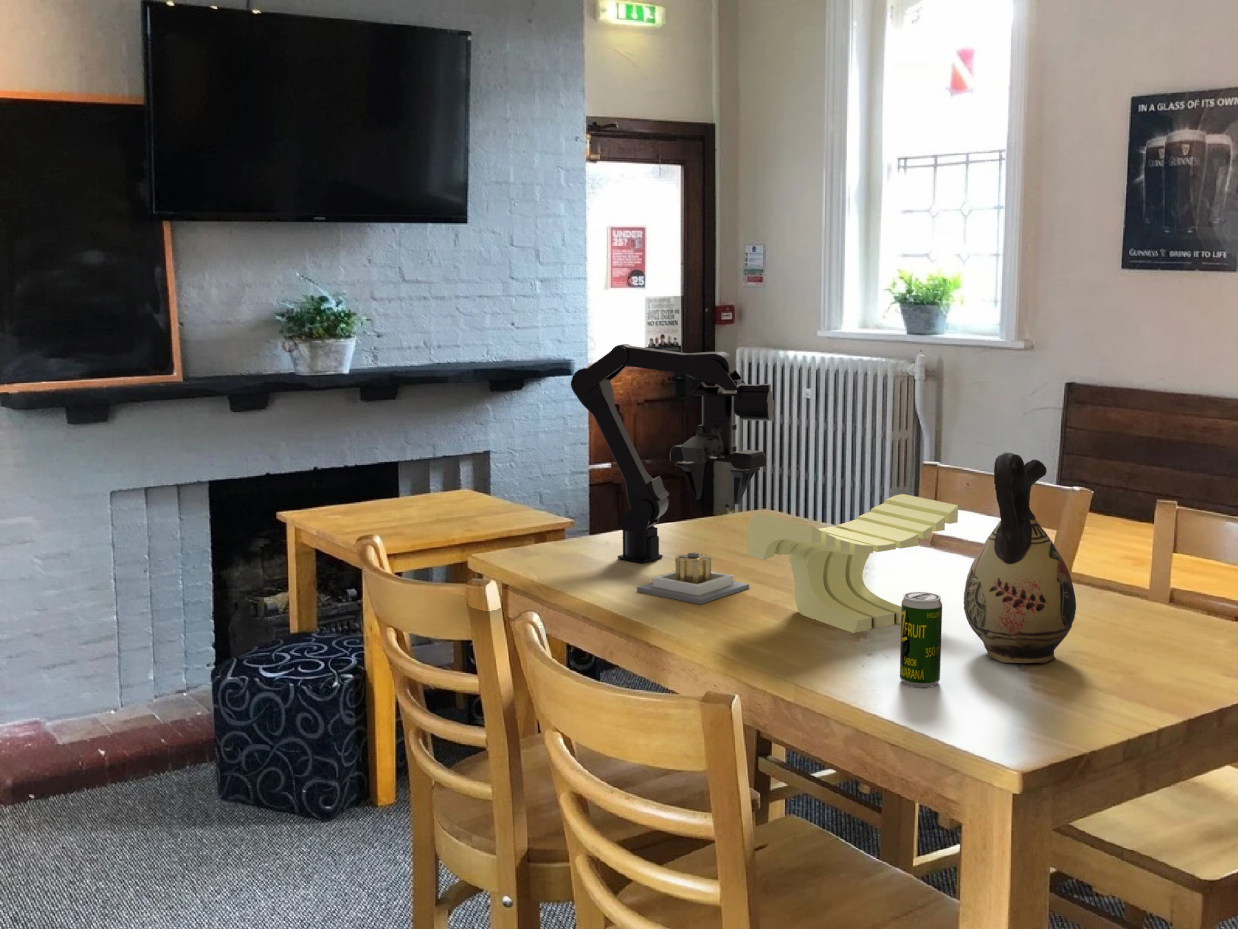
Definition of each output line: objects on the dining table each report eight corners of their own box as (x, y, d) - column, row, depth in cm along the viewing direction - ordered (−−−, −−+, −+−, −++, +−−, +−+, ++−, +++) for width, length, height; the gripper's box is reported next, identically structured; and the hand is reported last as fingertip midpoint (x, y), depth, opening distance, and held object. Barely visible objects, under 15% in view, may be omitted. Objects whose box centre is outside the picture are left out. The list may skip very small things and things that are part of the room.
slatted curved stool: (887, 592, 226) (889, 491, 223) (954, 613, 212) (958, 505, 210) (747, 617, 211) (747, 509, 208) (809, 641, 197) (811, 525, 195)
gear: (668, 585, 229) (668, 554, 228) (690, 579, 233) (690, 548, 232) (696, 591, 225) (696, 559, 224) (718, 584, 229) (718, 553, 228)
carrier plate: (636, 591, 228) (636, 578, 228) (686, 576, 239) (686, 563, 238) (700, 604, 219) (700, 590, 219) (749, 588, 230) (749, 575, 229)
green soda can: (911, 673, 181) (913, 589, 180) (947, 681, 178) (949, 595, 176) (892, 683, 177) (894, 597, 175) (928, 691, 174) (931, 603, 172)
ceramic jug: (988, 635, 200) (995, 440, 195) (1089, 653, 190) (1098, 449, 186) (938, 661, 187) (944, 454, 182) (1044, 682, 177) (1053, 463, 173)
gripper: (651, 420, 245) (651, 502, 247) (732, 427, 233) (732, 513, 235) (687, 414, 253) (688, 494, 255) (768, 421, 241) (767, 504, 243)
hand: (717, 501), depth 247 cm, fingers open, 9 cm apart
